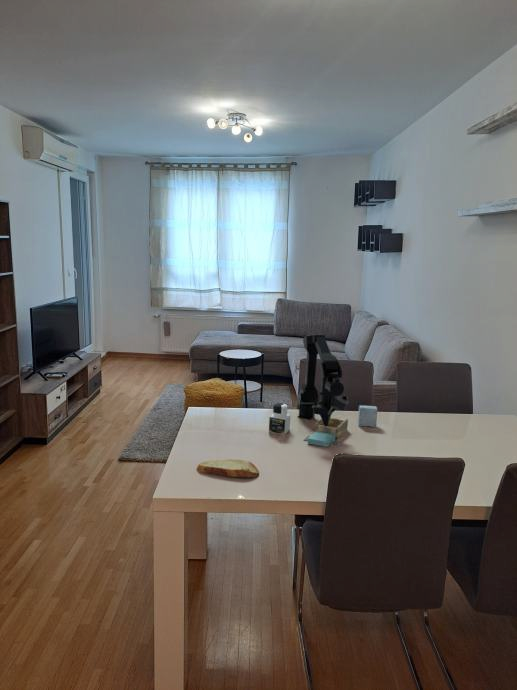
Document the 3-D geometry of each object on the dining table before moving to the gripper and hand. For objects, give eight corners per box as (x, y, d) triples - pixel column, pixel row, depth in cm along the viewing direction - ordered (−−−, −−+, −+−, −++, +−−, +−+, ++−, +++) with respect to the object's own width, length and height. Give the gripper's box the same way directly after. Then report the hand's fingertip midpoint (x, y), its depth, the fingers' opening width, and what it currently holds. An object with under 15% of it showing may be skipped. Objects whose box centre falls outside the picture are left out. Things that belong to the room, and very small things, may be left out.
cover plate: (307, 443, 211) (307, 438, 210) (316, 435, 221) (316, 430, 220) (327, 446, 207) (327, 442, 207) (335, 438, 217) (335, 434, 217)
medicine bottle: (268, 432, 223) (269, 405, 221) (274, 427, 229) (275, 401, 227) (284, 435, 220) (285, 407, 218) (289, 430, 227) (291, 403, 225)
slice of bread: (192, 469, 184) (192, 458, 183) (235, 458, 194) (236, 449, 193) (219, 488, 169) (219, 477, 169) (264, 476, 180) (264, 466, 179)
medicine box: (375, 424, 239) (376, 406, 237) (376, 427, 234) (377, 409, 233) (357, 423, 239) (358, 405, 238) (358, 426, 235) (359, 407, 233)
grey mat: (303, 440, 215) (303, 439, 215) (307, 436, 219) (307, 436, 219) (336, 446, 209) (336, 446, 209) (340, 442, 213) (340, 442, 213)
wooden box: (314, 435, 221) (315, 423, 220) (325, 426, 234) (325, 415, 233) (337, 439, 217) (338, 427, 216) (347, 430, 229) (347, 418, 229)
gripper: (340, 397, 202) (338, 436, 205) (353, 387, 219) (351, 423, 222) (313, 393, 207) (311, 431, 210) (328, 383, 224) (326, 418, 226)
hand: (326, 426), depth 217 cm, fingers closed
